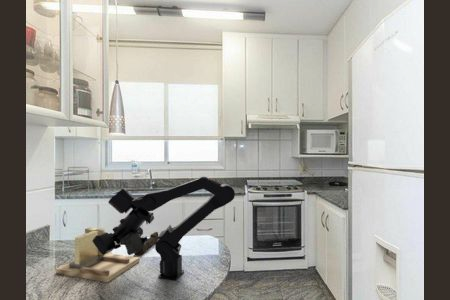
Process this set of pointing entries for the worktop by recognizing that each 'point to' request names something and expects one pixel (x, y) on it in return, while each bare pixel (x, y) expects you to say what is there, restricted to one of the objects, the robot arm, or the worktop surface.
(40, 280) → the worktop surface
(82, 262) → the tan upright block
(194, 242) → the worktop surface
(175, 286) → the worktop surface
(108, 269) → the board
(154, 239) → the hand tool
